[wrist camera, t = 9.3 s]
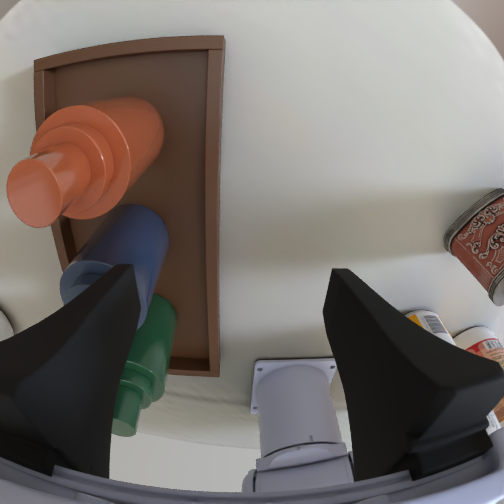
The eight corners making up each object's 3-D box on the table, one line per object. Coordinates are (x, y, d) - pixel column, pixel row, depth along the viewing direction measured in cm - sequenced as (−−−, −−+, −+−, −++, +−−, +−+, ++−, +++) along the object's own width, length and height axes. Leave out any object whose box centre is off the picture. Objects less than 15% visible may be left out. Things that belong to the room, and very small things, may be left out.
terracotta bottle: (165, 173, 19) (108, 264, 10) (92, 175, 18) (-1, 259, 9) (165, 92, 16) (91, 107, 7) (87, 99, 16) (-27, 131, 7)
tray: (220, 359, 28) (219, 377, 27) (102, 350, 28) (96, 366, 26) (225, 40, 15) (224, 35, 14) (50, 59, 15) (33, 60, 13)
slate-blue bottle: (172, 269, 22) (141, 391, 13) (108, 266, 22) (52, 377, 13) (167, 203, 20) (117, 313, 11) (97, 203, 20) (15, 302, 11)
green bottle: (180, 338, 26) (163, 450, 17) (124, 334, 26) (93, 438, 17) (174, 291, 23) (148, 412, 14) (113, 288, 23) (65, 398, 14)
